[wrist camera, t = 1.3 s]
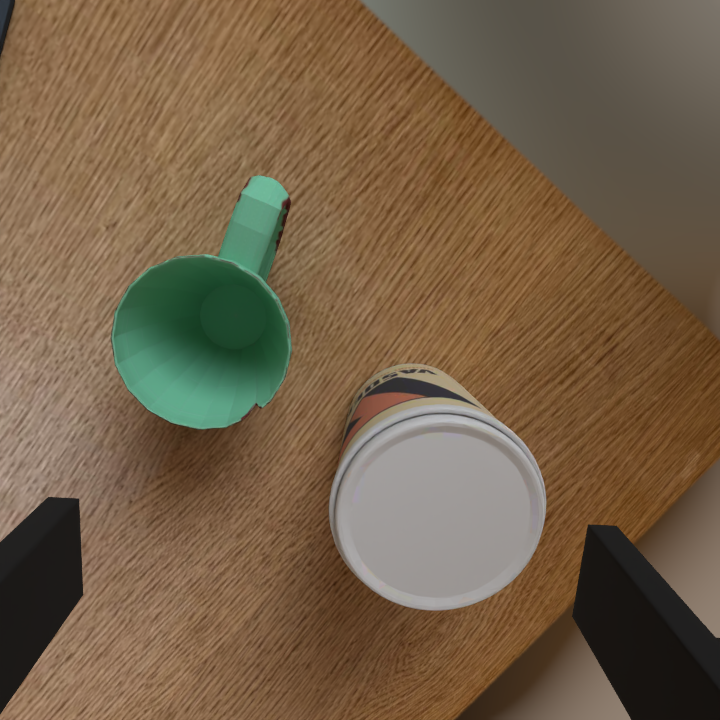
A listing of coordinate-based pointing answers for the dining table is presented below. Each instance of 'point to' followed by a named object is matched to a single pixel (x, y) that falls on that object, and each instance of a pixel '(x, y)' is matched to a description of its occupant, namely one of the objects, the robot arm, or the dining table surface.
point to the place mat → (5, 18)
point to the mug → (210, 323)
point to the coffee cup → (432, 492)
